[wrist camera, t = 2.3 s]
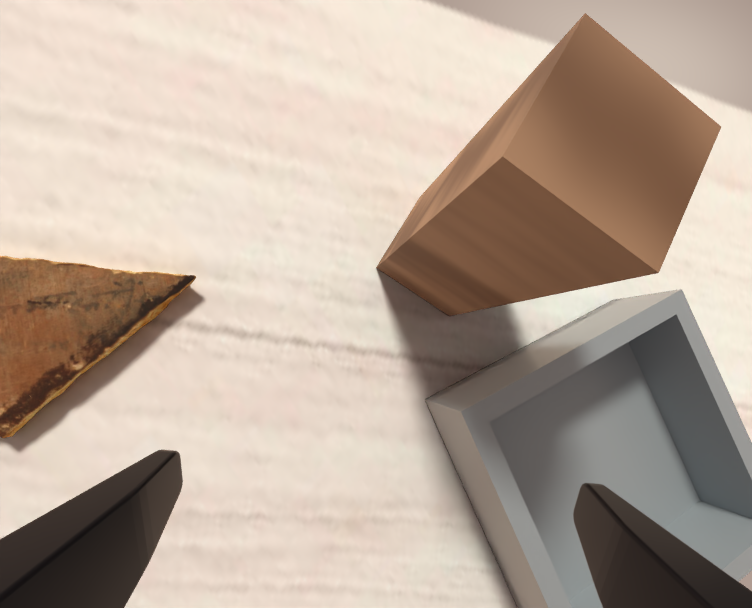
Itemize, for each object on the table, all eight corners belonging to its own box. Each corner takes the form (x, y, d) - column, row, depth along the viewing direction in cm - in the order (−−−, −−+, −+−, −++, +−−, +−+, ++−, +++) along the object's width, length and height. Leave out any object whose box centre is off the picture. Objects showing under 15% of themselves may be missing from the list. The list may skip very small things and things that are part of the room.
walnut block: (449, 316, 23) (658, 272, 10) (376, 267, 22) (502, 156, 9) (488, 245, 24) (721, 126, 11) (419, 197, 23) (585, 13, 10)
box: (704, 502, 25) (793, 534, 21) (530, 636, 22) (593, 708, 17) (612, 299, 25) (681, 289, 21) (424, 399, 22) (460, 411, 17)
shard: (201, 280, 20) (194, 274, 19) (181, 435, 19) (172, 443, 18) (-55, 254, 18) (-91, 243, 16) (-93, 429, 17) (-136, 438, 15)
